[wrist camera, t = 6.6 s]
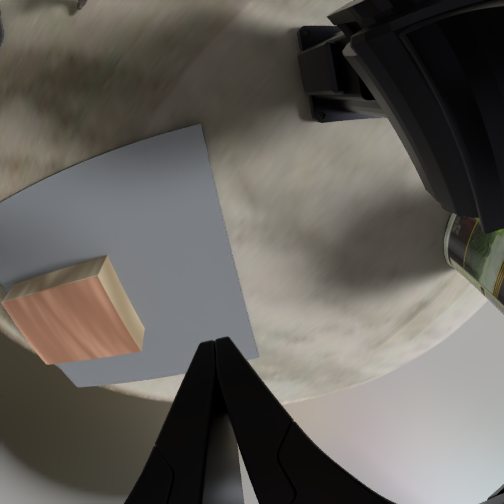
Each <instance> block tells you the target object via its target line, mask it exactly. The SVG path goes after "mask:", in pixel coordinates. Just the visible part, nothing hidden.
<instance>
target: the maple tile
mask: <svg viewBox="0 0 504 504" xmlns="http://www.w3.org/2000/svg"><path fill="white" fill-rule="evenodd" d="M1 303H2V305H3V306H4V308H5V309H6V311H7V312H8V314H9V315H10V317H11V318H12V320H13V321H14V323H15V324H16V326H17V327H18V328H19V330H20V331H21V333H22V334H23V335H24V337H25V338H26V339H27V341H28V342H29V343H30V345H31V346H32V347H33V349H34V350H35V351H36V352H37V354H38V355H39V356H40V357H41V358H42V360H43V361H44V362H45V363H46V364H57V363H66V362H74V361H82V360H90V359H97V358H104V357H110V356H117V355H123V354H129V353H135V352H141V351H142V345H143V338H144V331H145V328H144V326H143V325H142V323H141V321H140V319H139V317H138V315H137V314H136V312H135V310H134V308H133V306H132V304H131V302H130V300H129V298H128V297H127V295H126V293H125V291H124V289H123V287H122V285H121V283H120V281H119V278H118V276H117V274H116V272H115V270H114V268H113V266H112V264H111V262H110V259H109V257H108V255H106V256H103V257H99V258H96V259H92V260H89V261H86V262H83V263H79V264H76V265H73V266H69V267H66V268H63V269H60V270H57V271H53V272H50V273H47V274H44V275H41V276H38V277H35V278H32V279H29V280H26V281H23V282H20V283H17V284H14V285H13V286H12V288H11V289H10V291H9V292H8V293H7V295H6V296H5V298H4V299H3V301H2V302H1Z"/></svg>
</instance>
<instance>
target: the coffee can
mask: <svg viewBox="0 0 504 504" xmlns="http://www.w3.org/2000/svg"><path fill="white" fill-rule="evenodd" d="M444 256H445V259H446V261H447V263H448V264H449V265H450V266H451V267H453V268H454V269H456V270H457V271H458V272H459V273H460V274H462V275H463V276H464V277H465V278H466V279H467V280H468V281H469V282H470V283H471V284H473V285H474V286H475V287H476V288H477V289H478V290H479V291H480V292H481V293H482V294H483V295H484V296H485V297H486V298H487V299H489V300H490V301H491V302H492V303H493V304H494V305H495V306H496V307H497V308H498V309H499V310H500V311H501V312H502V313H503V314H504V229H501V230H498V231H495V232H492V233H489V234H484V233H483V232H482V229H481V225H480V220H479V218H472V217H466V216H460V215H456V214H454V213H452V214H451V216H450V218H449V221H448V224H447V228H446V232H445V236H444Z"/></svg>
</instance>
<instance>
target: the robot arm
mask: <svg viewBox="0 0 504 504" xmlns="http://www.w3.org/2000/svg"><path fill="white" fill-rule="evenodd" d="M327 18H328V19H329V20H330V21H331V22H332V23H333V24H334V25H337V26H303V27H301V28H300V29H298V31H297V36H298V41H299V45H300V50H301V53H300V54H299V55H298V60H299V65H300V70H301V76H302V81H303V87H304V92H305V93H306V94H307V95H309V100H310V107H311V113H312V117H313V119H314V120H315V121H316V122H320V123H325V122H334V121H343V120H354V119H367V118H382V117H384V118H388V119H389V121H390V123H391V124H392V126H393V128H394V129H395V131H396V133H397V135H398V136H399V138H400V140H401V142H402V143H403V145H404V147H405V149H406V151H407V152H408V154H409V156H410V158H411V160H412V162H413V164H414V166H415V168H416V170H417V172H418V174H419V176H420V178H421V180H422V182H423V184H424V186H425V189H426V190H427V191H428V192H429V193H430V194H431V195H432V196H433V197H434V198H435V199H436V200H437V201H438V202H440V203H441V206H442V208H443V209H444V210H447V211H449V212H451V213H454V214H456V215H460V216H466V217H472V218H479V220H480V225H481V229H482V232H483V233H484V234H489V233H492V232H495V231H498V230H501V229H504V0H353V1H352V2H350V3H348V4H346V5H345V6H343V7H341V8H340V9H338V10H336V11H335V12H333V13H332V14H330V15H328V16H327ZM303 31H307V32H308V34H309V36H305V35H304V34H303ZM320 111H321V112H322V113H323V117H322V118H319V117H318V113H319V112H320ZM237 443H238V445H237ZM155 445H156V446H154V447H153V449H152V451H151V454H150V456H149V458H148V460H147V462H146V464H145V467H144V469H143V471H142V473H141V475H140V477H139V479H138V480H137V482H136V484H135V486H134V487H133V489H132V491H131V492H130V494H129V496H128V498H127V499H126V501H125V503H124V504H244V499H243V490H242V481H241V473H240V464H239V455H238V446H239V449H240V452H241V455H242V458H243V461H244V464H245V467H246V470H247V472H248V475H249V478H250V481H251V483H252V486H253V489H254V492H255V494H256V497H257V499H258V502H259V504H396V503H394V502H392V501H390V500H388V499H386V498H384V497H382V496H381V495H379V494H377V493H376V492H374V491H373V490H371V489H370V488H368V487H367V486H366V485H364V484H363V483H362V482H360V481H358V479H356V478H355V477H353V476H352V475H351V474H349V473H348V472H347V471H346V470H344V469H343V468H342V467H341V466H339V465H338V464H337V463H336V462H334V461H333V460H332V459H331V458H330V457H329V456H327V455H326V454H325V453H324V452H323V451H322V450H321V449H320V448H319V447H318V446H317V445H316V444H315V443H314V442H313V441H312V440H311V439H310V438H309V437H308V436H307V435H306V434H305V433H304V432H303V430H302V429H301V428H300V427H299V426H298V425H297V423H296V422H294V420H293V419H292V418H291V416H290V415H289V414H288V412H287V411H286V410H285V409H284V408H283V406H282V405H281V404H280V403H279V401H278V400H277V399H276V398H275V396H274V395H273V394H272V392H271V391H270V390H269V389H268V387H267V386H266V385H265V383H264V382H263V381H262V380H261V378H260V377H259V376H258V374H257V373H256V372H255V370H254V369H253V368H252V367H251V365H250V364H249V363H248V361H247V360H246V359H245V357H244V356H243V354H242V353H241V352H240V350H239V349H238V348H237V346H236V345H235V344H234V342H233V341H232V339H231V338H230V337H229V336H226V337H222V338H217V339H216V340H215V341H214V340H209V341H204V342H201V343H200V344H199V345H198V347H197V350H196V352H195V354H194V356H193V359H192V361H191V363H190V365H189V368H188V370H187V372H186V374H185V377H184V379H183V381H182V383H181V386H180V388H179V390H178V392H177V395H176V397H175V399H174V401H173V404H172V406H171V408H170V411H169V413H168V415H167V417H166V420H165V422H164V424H163V426H162V429H161V431H160V433H159V435H158V438H157V440H156V442H155ZM480 504H504V485H502V486H501V487H500V488H499V489H498V490H497V491H496V492H495V493H493V494H492V495H491V496H490V497H489V498H488V499H487V501H485V502H483V503H480Z"/></svg>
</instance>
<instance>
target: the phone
mask: <svg viewBox="0 0 504 504" xmlns="http://www.w3.org/2000/svg"><path fill="white" fill-rule="evenodd" d="M3 38H4V30H3V25H2V19H1V12H0V46H1V44H2V41H3Z"/></svg>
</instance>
